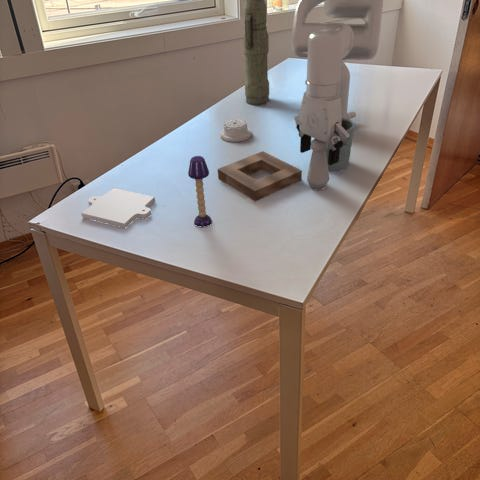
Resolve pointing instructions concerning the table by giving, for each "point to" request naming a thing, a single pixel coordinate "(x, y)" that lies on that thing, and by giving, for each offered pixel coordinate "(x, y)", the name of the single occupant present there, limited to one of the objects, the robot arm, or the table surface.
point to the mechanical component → (235, 131)
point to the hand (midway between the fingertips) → (319, 157)
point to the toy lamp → (199, 188)
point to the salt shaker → (318, 165)
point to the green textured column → (256, 52)
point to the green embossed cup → (343, 148)
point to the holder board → (261, 188)
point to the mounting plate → (119, 207)
